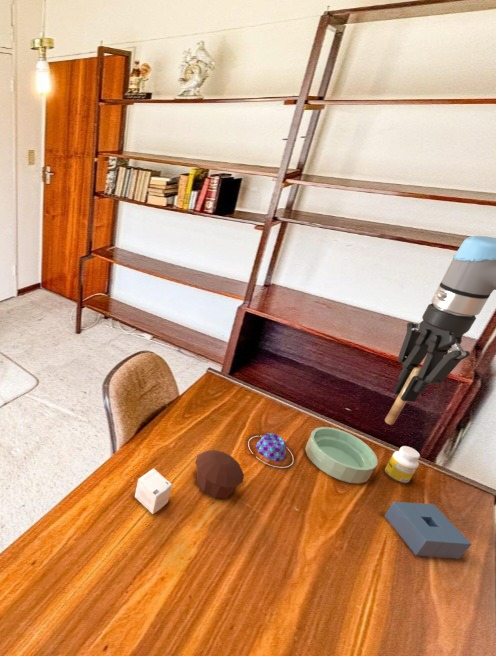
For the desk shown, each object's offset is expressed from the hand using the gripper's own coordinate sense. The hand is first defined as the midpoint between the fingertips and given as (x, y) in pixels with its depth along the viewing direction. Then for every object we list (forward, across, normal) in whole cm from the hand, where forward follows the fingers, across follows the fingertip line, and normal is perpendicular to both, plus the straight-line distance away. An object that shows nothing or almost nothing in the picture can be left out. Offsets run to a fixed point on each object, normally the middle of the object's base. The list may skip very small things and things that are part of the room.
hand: (403, 396), depth 94 cm
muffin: (+31, +3, -39) cm, 50 cm away
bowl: (+31, -8, 0) cm, 32 cm away
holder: (+31, +14, +6) cm, 34 cm away
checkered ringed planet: (+31, -10, -18) cm, 37 cm away
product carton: (+32, +8, -57) cm, 65 cm away
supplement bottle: (+31, -4, +14) cm, 34 cm away
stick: (+8, 0, 0) cm, 8 cm away
